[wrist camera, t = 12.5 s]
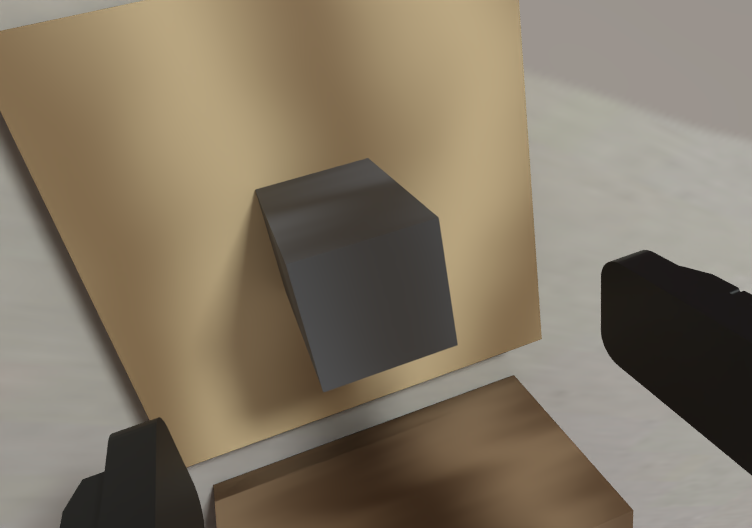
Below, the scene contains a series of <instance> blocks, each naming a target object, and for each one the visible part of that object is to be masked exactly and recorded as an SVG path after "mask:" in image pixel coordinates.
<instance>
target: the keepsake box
mask: <svg viewBox="0 0 752 528" xmlns="http://www.w3.org/2000/svg"><path fill="white" fill-rule="evenodd" d="M213 487H214V500H215V513H216V527H217V528H633V509H632V508H631V507H630V506H629V505H628V504H627V503H626V501H625V500H624V499H623V498H622V497H621V496H620V495H619V494H618V492H617V491H616V490H615V489H614V488H613V487H612V486H611V485H610V483H609V482H608V481H607V480H606V479H605V478H604V477H603V475H602V474H601V473H600V472H599V471H598V470H597V469H596V468H595V466H594V465H593V464H592V463H591V462H590V461H589V460H588V459H587V457H586V456H585V455H584V454H583V453H582V452H581V451H580V449H579V448H578V447H577V446H576V445H575V444H574V443H573V442H572V440H571V439H570V438H569V437H568V436H567V435H566V434H565V432H564V431H563V430H562V429H561V428H560V427H559V426H558V425H557V423H556V422H555V421H554V420H553V419H552V418H551V417H550V416H549V414H548V413H547V412H546V411H545V410H544V409H543V408H542V406H541V405H540V404H539V403H538V402H537V401H536V400H535V399H534V397H533V396H532V395H531V394H530V393H529V392H528V391H527V390H526V388H525V387H524V386H523V385H522V384H521V383H520V382H519V380H518V379H517V378H516V377H515V376H514V375H513V376H510V377H508V378H505V379H502V380H499V381H497V382H494V383H491V384H488V385H486V386H483V387H480V388H477V389H475V390H472V391H469V392H467V393H464V394H461V395H458V396H456V397H453V398H450V399H447V400H445V401H442V402H439V403H436V404H434V405H431V406H428V407H426V408H423V409H420V410H417V411H415V412H412V413H409V414H406V415H404V416H401V417H398V418H396V419H393V420H390V421H387V422H385V423H382V424H379V425H376V426H374V427H371V428H368V429H365V430H363V431H360V432H357V433H355V434H352V435H349V436H346V437H344V438H341V439H338V440H335V441H333V442H330V443H327V444H324V445H322V446H319V447H316V448H314V449H311V450H308V451H305V452H303V453H300V454H297V455H294V456H292V457H289V458H286V459H284V460H281V461H278V462H275V463H273V464H270V465H267V466H264V467H262V468H259V469H256V470H253V471H251V472H248V473H245V474H243V475H240V476H237V477H234V478H232V479H229V480H226V481H223V482H221V483H218V484H215V485H213Z"/></svg>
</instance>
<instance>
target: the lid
mask: <svg viewBox="0 0 752 528" xmlns="http://www.w3.org/2000/svg"><path fill="white" fill-rule="evenodd" d="M522 56H523V55H522V41H521V26H520V11H519V0H144V1H140V2H135V3H130V4H125V5H121V6H116V7H111V8H107V9H102V10H97V11H92V12H88V13H83V14H78V15H73V16H69V17H64V18H59V19H55V20H50V21H45V22H40V23H36V24H31V25H26V26H21V27H17V28H12V29H7V30H3V31H0V112H1V114H2V116H3V118H4V120H5V122H6V124H7V126H8V128H9V130H10V132H11V134H12V136H13V139H14V141H15V143H16V145H17V147H18V149H19V151H20V153H21V155H22V157H23V159H24V161H25V163H26V165H27V167H28V170H29V172H30V174H31V176H32V178H33V180H34V182H35V184H36V186H37V188H38V190H39V192H40V194H41V196H42V199H43V201H44V203H45V205H46V207H47V209H48V211H49V213H50V215H51V217H52V219H53V221H54V223H55V225H56V227H57V230H58V232H59V234H60V236H61V238H62V240H63V242H64V244H65V246H66V248H67V250H68V252H69V254H70V256H71V259H72V261H73V263H74V265H75V267H76V269H77V271H78V273H79V275H80V277H81V279H82V281H83V283H84V285H85V288H86V290H87V292H88V294H89V296H90V298H91V300H92V302H93V304H94V306H95V308H96V310H97V312H98V314H99V316H100V319H101V321H102V323H103V325H104V327H105V329H106V331H107V333H108V335H109V337H110V339H111V341H112V343H113V345H114V348H115V350H116V352H117V354H118V356H119V358H120V360H121V362H122V364H123V366H124V368H125V370H126V372H127V374H128V377H129V379H130V381H131V383H132V385H133V387H134V389H135V391H136V393H137V395H138V397H139V399H140V401H141V403H142V405H143V408H144V410H145V412H146V414H147V416H148V418H149V420H153V419H155V418H158V417H160V418H162V419H163V420H164V422H165V424H166V425H167V427H168V429H169V432H170V434H171V436H172V438H173V440H174V442H175V445H176V447H177V449H178V451H179V453H180V455H181V457H182V460H183V462H184V464H185V466H186V467H189V466H192V465H194V464H197V463H200V462H203V461H206V460H208V459H211V458H214V457H217V456H219V455H222V454H225V453H228V452H230V451H233V450H236V449H239V448H241V447H244V446H247V445H250V444H253V443H255V442H258V441H261V440H264V439H266V438H269V437H272V436H275V435H277V434H280V433H283V432H286V431H289V430H291V429H294V428H297V427H300V426H302V425H305V424H308V423H311V422H313V421H316V420H319V419H322V418H325V417H327V416H330V415H333V414H336V413H338V412H341V411H344V410H347V409H349V408H352V407H355V406H358V405H361V404H363V403H366V402H369V401H372V400H374V399H377V398H380V397H383V396H385V395H388V394H391V393H394V392H396V391H399V390H402V389H405V388H408V387H410V386H413V385H416V384H419V383H421V382H424V381H427V380H430V379H432V378H435V377H438V376H441V375H444V374H446V373H449V372H452V371H455V370H457V369H460V368H463V367H466V366H468V365H471V364H474V363H477V362H480V361H482V360H485V359H488V358H491V357H493V356H496V355H499V354H502V353H504V352H507V351H510V350H513V349H516V348H518V347H521V346H524V345H527V344H529V343H532V342H535V341H538V340H540V339H542V337H541V323H540V308H539V293H538V278H537V263H536V248H535V234H534V219H533V204H532V189H531V174H530V159H529V144H528V130H527V115H526V100H525V85H524V70H523V57H522Z"/></svg>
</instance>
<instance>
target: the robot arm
mask: <svg viewBox="0 0 752 528" xmlns="http://www.w3.org/2000/svg"><path fill="white" fill-rule="evenodd" d="M601 336H602V340H603V343H604V346H605V348H606V350H607V352H608V354H609V356H610V357H611V358H612V360H613V361H614V362H615V363H616V364H617V365H618V366H619V367H621V368H622V369H623V370H624V371H626V372H627V373H628V374H629V375H630V376H632V377H633V378H634V379H635V380H636V381H638V382H639V383H640V384H641V385H643V386H644V387H645V388H646V389H647V390H649V391H650V392H651V393H652V394H653V395H655V396H656V397H657V398H658V399H660V400H661V401H662V402H663V403H664V404H666V405H667V406H668V407H669V408H670V409H672V410H673V411H674V412H675V413H677V414H678V415H679V416H680V417H681V418H683V419H684V420H685V421H686V422H687V423H689V424H690V425H691V426H692V427H694V428H695V429H696V430H697V431H698V432H700V433H701V434H702V435H703V436H704V437H706V438H707V439H708V440H709V441H711V442H712V443H713V444H714V445H715V446H717V447H718V448H719V449H720V450H722V451H723V452H724V453H725V454H726V455H728V456H729V457H730V458H731V459H732V460H734V461H735V462H736V463H737V464H739V465H740V466H741V467H742V468H743V469H745V470H746V471H747V472H748V473H749V474H751V475H752V295H751V294H750V293H748V292H746V291H742V292H740V290H739V288H738V287H736V286H734V285H732V284H730V283H728V282H726V281H724V280H722V279H720V278H719V277H717V276H715V275H713V274H709V273H705V272H702V271H698V270H694V269H690V268H686V267H682V266H678V265H676V264H674V263H673V262H671V261H669V260H667V259H665V258H663V257H661V256H659V255H658V254H656V253H654V252H652V251H649V250H642V251H639V252H636V253H633V254H630V255H628V256H625V257H622V258H619V259H616V260H613V261H610V262H608V263H606V264H605V265H604V267H603V269H602V272H601ZM60 528H204V520H203V514H202V509H201V505H200V501H199V498H198V494H197V491H196V488H195V486H194V483H193V481H192V479H191V477H190V475H189V473H188V470H187V468H186V466H185V464H184V462H183V460H182V457H181V455H180V453H179V451H178V449H177V447H176V445H175V442H174V440H173V438H172V436H171V434H170V432H169V429H168V427H167V425H166V424H165V422H164V420H163V419H162V418H160V417H158V418H155V419H153V420H150V421H147V422H144V423H141V424H138V425H135V426H132V427H130V428H127V429H124V430H121V431H118V432H115V433H112V434H111V435H110V437H109V440H108V448H107V456H106V465H105V472H102V473H99V474H97V475H94V476H91V477H88V478H85V479H83V480H82V481H81V483H80V485H79V486H78V488H77V489H76V491H75V493H74V494H73V496H72V498H71V499H70V501H69V503H68V504H67V506H66V507H65V509H64V511H63V514H62V519H61V524H60Z"/></svg>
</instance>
